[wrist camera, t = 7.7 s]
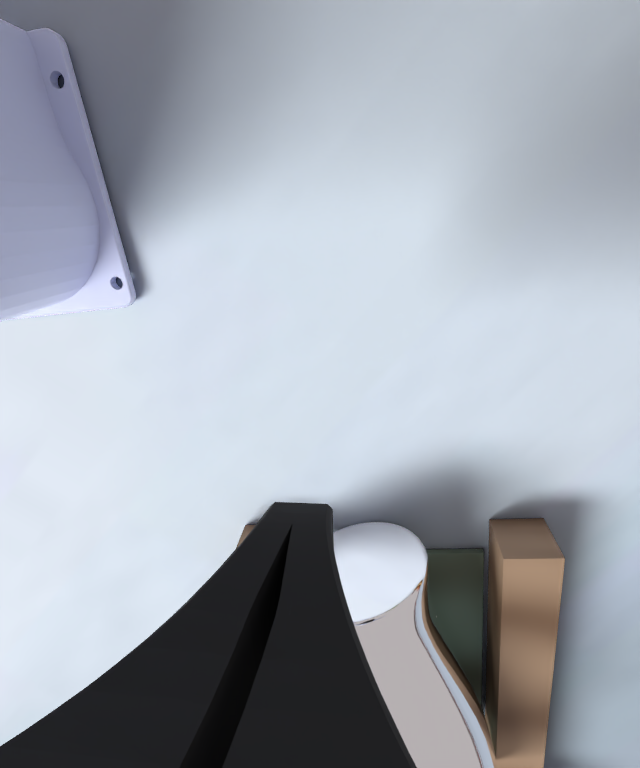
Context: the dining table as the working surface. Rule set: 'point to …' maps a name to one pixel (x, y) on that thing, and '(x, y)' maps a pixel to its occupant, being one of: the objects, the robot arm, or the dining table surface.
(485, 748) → the beer glass
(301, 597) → the robot arm
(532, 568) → the cradle
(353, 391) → the dining table surface
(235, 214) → the dining table surface
